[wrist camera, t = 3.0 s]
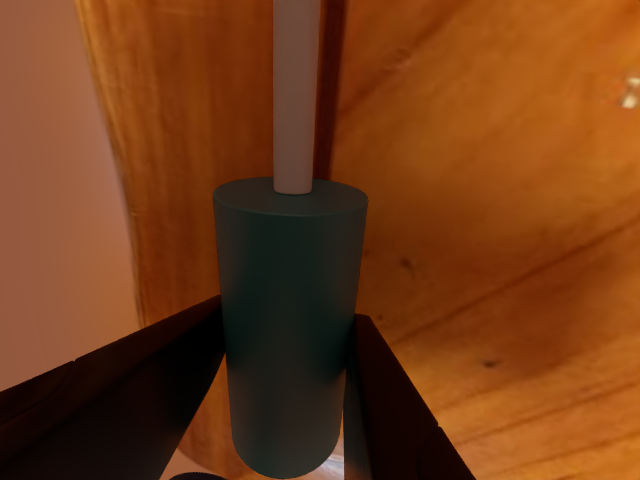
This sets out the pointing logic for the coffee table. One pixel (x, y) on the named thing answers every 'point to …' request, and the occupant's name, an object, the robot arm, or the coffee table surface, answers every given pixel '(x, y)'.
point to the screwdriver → (289, 275)
